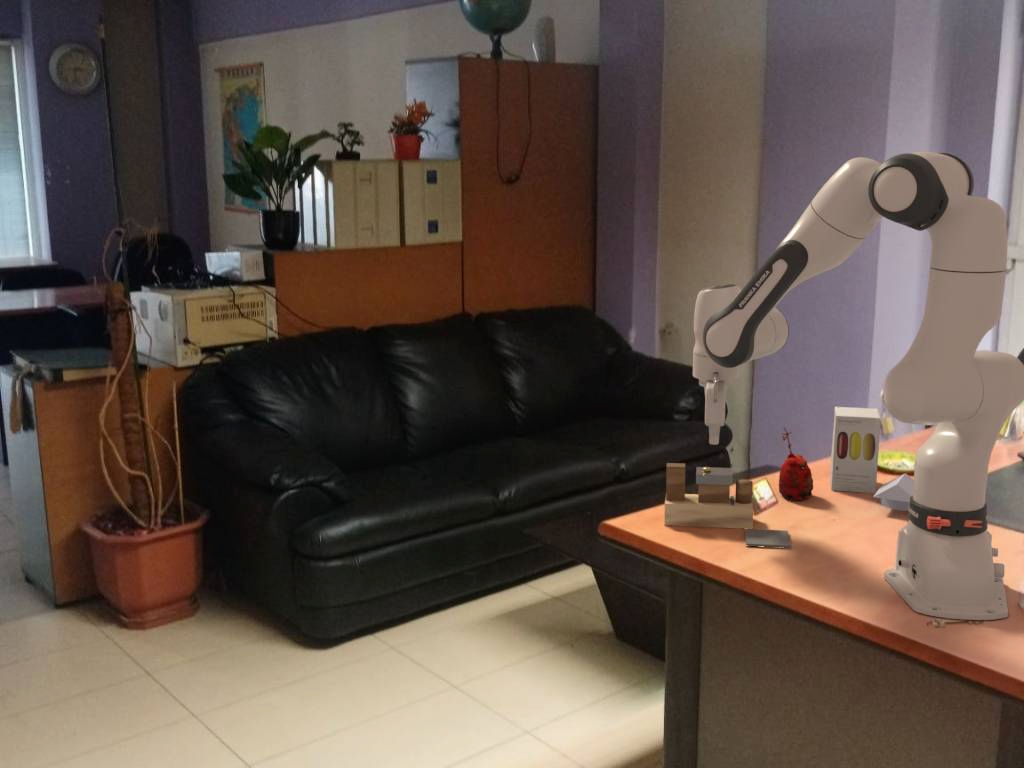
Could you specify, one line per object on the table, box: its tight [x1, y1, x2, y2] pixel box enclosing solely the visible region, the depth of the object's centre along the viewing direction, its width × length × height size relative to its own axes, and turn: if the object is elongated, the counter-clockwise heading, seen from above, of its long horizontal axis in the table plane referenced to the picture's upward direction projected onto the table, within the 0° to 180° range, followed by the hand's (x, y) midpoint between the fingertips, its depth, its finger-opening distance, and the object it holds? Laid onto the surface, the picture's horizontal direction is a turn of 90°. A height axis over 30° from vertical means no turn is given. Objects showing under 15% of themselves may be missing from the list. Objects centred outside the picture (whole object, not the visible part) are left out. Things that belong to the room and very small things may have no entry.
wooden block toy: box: [664, 462, 754, 529], centre depth 203 cm, size 6×17×12 cm, turn 79°
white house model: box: [873, 472, 914, 512], centre depth 209 cm, size 9×7×13 cm
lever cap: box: [695, 466, 734, 486], centre depth 202 cm, size 5×7×3 cm
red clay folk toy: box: [778, 427, 814, 502], centre depth 216 cm, size 8×7×15 cm
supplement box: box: [829, 406, 881, 494], centre depth 222 cm, size 10×9×17 cm
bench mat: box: [744, 528, 792, 549], centre depth 193 cm, size 8×8×1 cm
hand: (713, 436), depth 200 cm, fingers open, 8 cm apart
